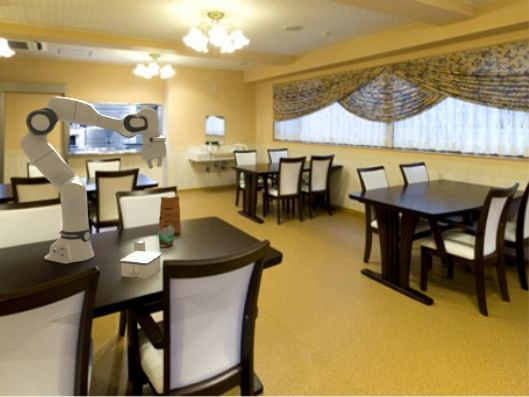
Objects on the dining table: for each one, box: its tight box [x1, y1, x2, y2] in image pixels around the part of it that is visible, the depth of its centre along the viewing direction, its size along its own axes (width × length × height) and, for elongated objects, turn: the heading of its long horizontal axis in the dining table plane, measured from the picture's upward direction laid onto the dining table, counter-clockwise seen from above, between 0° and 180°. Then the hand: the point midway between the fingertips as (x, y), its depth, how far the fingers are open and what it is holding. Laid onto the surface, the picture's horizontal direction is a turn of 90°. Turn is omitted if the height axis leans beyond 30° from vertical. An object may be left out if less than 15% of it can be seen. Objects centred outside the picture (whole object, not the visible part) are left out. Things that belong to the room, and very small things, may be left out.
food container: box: [157, 225, 175, 249], centre depth 209 cm, size 12×6×10 cm, turn 168°
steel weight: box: [133, 240, 146, 252], centre depth 187 cm, size 5×5×9 cm
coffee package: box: [158, 195, 182, 235], centre depth 234 cm, size 10×12×22 cm
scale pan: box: [119, 251, 163, 265], centre depth 171 cm, size 13×13×1 cm
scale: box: [120, 256, 162, 280], centre depth 172 cm, size 12×12×6 cm
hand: (155, 167), depth 198 cm, fingers open, 8 cm apart
